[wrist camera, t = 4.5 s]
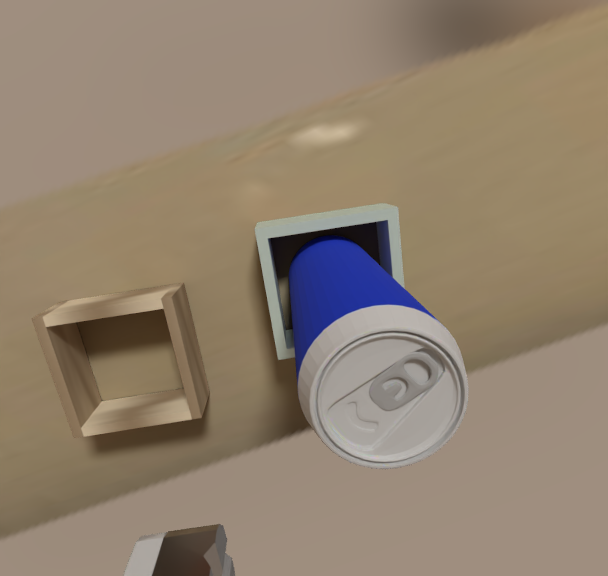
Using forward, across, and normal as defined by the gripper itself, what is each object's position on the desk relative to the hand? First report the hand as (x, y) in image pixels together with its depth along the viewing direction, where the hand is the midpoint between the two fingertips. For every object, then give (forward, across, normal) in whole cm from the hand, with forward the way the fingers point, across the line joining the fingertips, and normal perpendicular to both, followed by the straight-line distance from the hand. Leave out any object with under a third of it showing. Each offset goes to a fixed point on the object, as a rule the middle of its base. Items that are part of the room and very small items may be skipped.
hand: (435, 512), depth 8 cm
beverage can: (+19, 0, 0) cm, 19 cm away
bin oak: (+19, +13, +3) cm, 23 cm away
